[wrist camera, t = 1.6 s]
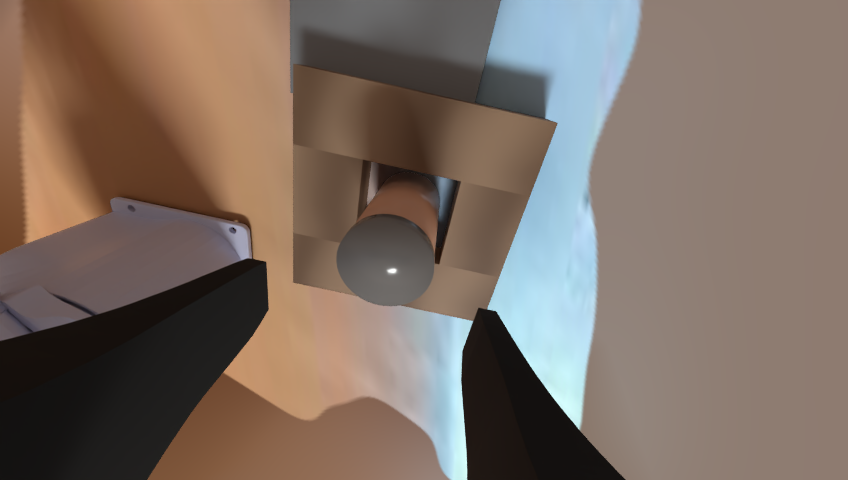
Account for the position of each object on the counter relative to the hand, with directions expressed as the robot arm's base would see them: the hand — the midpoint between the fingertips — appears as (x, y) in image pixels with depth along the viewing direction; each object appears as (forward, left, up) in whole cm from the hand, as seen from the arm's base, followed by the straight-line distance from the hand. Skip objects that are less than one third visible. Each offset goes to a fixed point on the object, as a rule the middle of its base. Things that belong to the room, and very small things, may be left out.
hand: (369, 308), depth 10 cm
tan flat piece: (0, 0, -10) cm, 10 cm away
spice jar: (0, 0, -10) cm, 10 cm away
